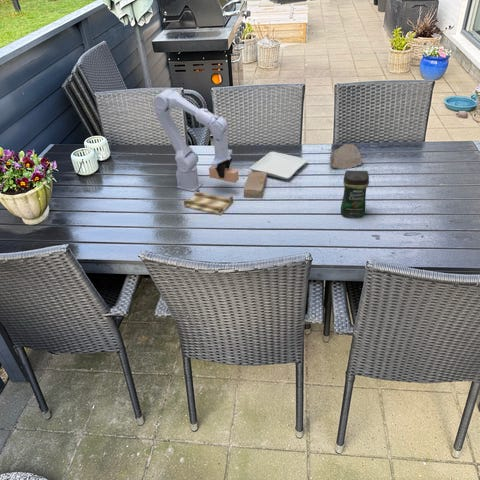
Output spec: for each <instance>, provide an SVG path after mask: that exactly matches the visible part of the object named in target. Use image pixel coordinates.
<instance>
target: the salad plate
mask: <svg viewBox="0 0 480 480" xmlns="http://www.w3.org/2000/svg"><path fill="white" fill-rule="evenodd" d="M308 161H309V159H307V158H305V157H304V158H303V157H299V156H295V155H290V154H285V153H282V152H278V151H277V152H276V151H270V152H268V153H267V154H265V155H264V156H263V157H262V158H260V159H259V160H258V161H256V162H255V163H254V164H253V165H251V166H250V167H249V169H250V171H252V172H266V173H267V177H268V176H270V177H273V178H277V179H281V180H285V181H287V180H290V179H291V177H292V176H293V175H294V174H296V172H298V170H300V169H301V168H302V167H303V166H304V165H306V164H307V163H308Z"/></svg>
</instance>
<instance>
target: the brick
mask: <svg viewBox="0 0 480 480" xmlns="http://www.w3.org/2000/svg"><path fill="white" fill-rule="evenodd" d="M267 179H268V175H267V173H266V172H254V171H252V172H248V174H247V178H246V181H245V183H244V186H243V197H244V198H245V199H262V197H263V196H264V195H263V193H264V190H265V188H266V183H267Z"/></svg>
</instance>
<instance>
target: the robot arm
mask: <svg viewBox="0 0 480 480" xmlns="http://www.w3.org/2000/svg"><path fill="white" fill-rule="evenodd" d="M152 105H153V107H154V110H155V116H156V118H157V120H158V121H159V124H160V125H161V127H162V130H163V131H164V133H165V134H166V136H167V138H168V140H169V142H170V144H171V146H172V148H173V149H174V151H175V158H174V160H175V162H176V165H177V169H176V172H175V173H176V174H175V175H176V182H177V186H176V188H177V189H181V190H185V191H189V192H196V190H197V189H199V188H200V187H201V186H202V185H203V182H200V180H199V175H198V166H197V163H198V162H199V156H198V154H197V153H196V152H195V151H194V150H193V148H192V147H190V146H188V145H187V144H186V142H185V140H184V137H183V136H182V134H181V132H180V130H179V128H178V125H176V122H175V121H174V119H173V117H172V114H171V111H172V109H176V108H177V109H181V110H182V111H184V112H186V113H188V114H190V115H191V116H194V118H195V120H196V122H198V123H200V124H201V125H203V126H205V127H206V128H208V129H209V131H210V133H211V134H212V137H213V149H214V157H213V161H212V162H211V166H212V167H213V168H215V169H216V170H217V173H218V175H219V178H224V171H225V168H229V169H230V168H231V166H230V165H231V163H232V161H233V157H232V156H231V155H233V149H229V146H228V144H229V143H228V133H227V131H228V130H227V129H228V127H229V122H228V119H227V118H225V117H224V116H218V115H215V114H214V113H212V112H210V111H209V109H208V108H204V107H202V108H199V107H197V106H196V105H194V104H193V103H192V102H190V101H188V99H186V98H184V97H182V95H181V94H180V93H179V92H178V91H177V90H175V89H173V87H172V88H171V87H167V88H165V89H164V90H162V91H161V92H160V93H159V94H156V95H155V96H154V98H153V101H152Z"/></svg>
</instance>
